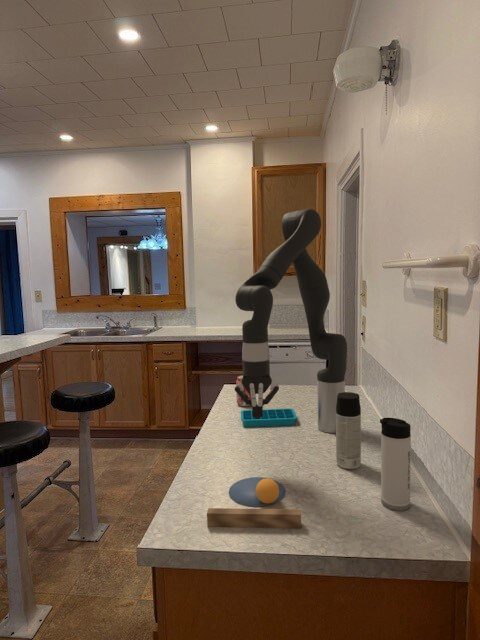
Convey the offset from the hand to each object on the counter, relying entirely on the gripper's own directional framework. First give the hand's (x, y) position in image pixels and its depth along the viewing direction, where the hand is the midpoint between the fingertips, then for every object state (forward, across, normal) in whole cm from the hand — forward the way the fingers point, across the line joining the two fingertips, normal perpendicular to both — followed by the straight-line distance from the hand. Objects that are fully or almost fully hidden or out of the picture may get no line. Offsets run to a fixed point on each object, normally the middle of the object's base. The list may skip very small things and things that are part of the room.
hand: (257, 418), depth 117 cm
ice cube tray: (+14, -2, -36) cm, 39 cm away
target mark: (+14, 0, +15) cm, 20 cm away
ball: (+11, -3, +20) cm, 23 cm away
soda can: (+14, +8, -56) cm, 58 cm away
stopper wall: (+14, 0, +29) cm, 32 cm away
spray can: (+14, -25, 0) cm, 29 cm away
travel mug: (+14, -32, +20) cm, 40 cm away
